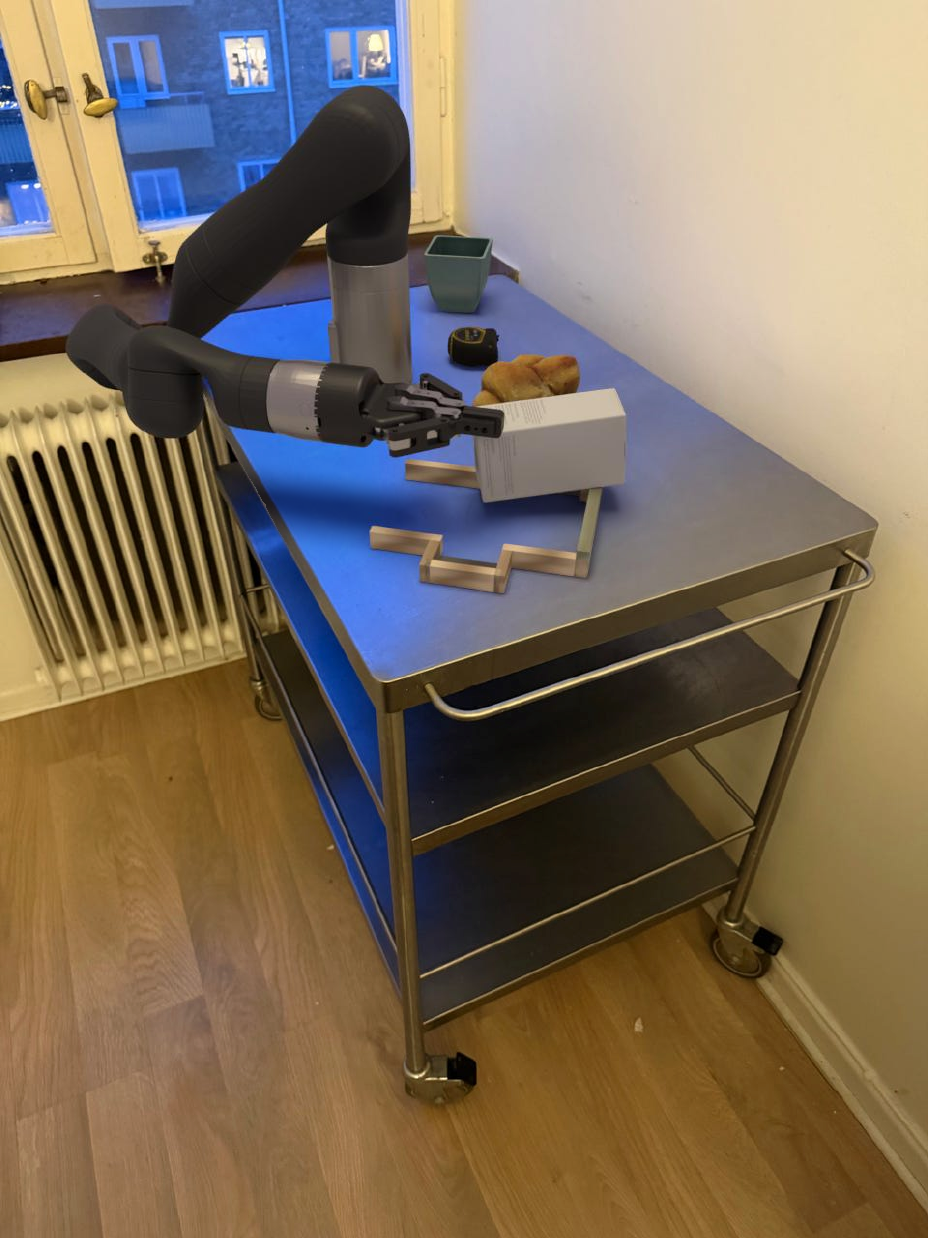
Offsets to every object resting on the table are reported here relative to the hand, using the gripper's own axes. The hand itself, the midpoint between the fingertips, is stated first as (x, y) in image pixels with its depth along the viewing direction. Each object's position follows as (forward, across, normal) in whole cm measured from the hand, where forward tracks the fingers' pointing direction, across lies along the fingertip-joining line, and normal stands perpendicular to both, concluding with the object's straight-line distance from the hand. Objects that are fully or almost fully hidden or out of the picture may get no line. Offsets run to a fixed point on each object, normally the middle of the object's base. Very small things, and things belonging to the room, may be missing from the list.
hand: (502, 424), depth 82 cm
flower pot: (-16, -56, -12) cm, 59 cm away
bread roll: (-2, -24, -12) cm, 27 cm away
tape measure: (-10, -38, -12) cm, 41 cm away
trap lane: (-1, -2, -12) cm, 12 cm away
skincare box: (-3, -3, -6) cm, 7 cm away
